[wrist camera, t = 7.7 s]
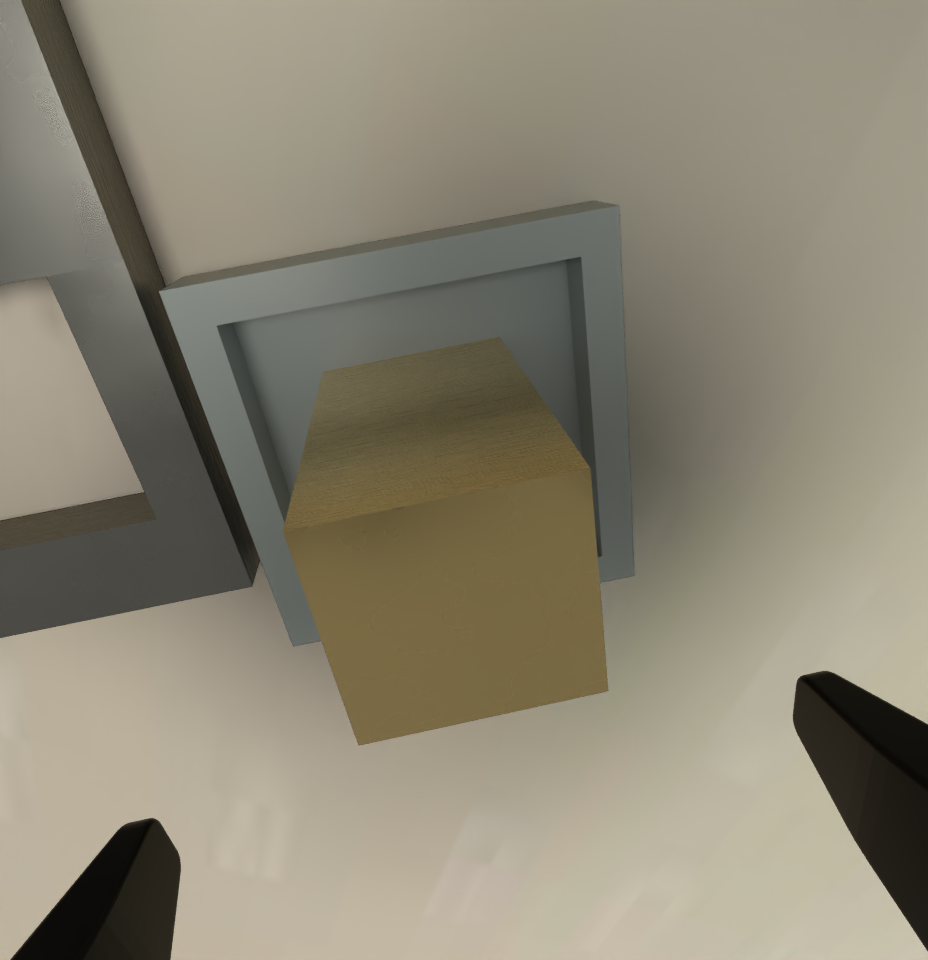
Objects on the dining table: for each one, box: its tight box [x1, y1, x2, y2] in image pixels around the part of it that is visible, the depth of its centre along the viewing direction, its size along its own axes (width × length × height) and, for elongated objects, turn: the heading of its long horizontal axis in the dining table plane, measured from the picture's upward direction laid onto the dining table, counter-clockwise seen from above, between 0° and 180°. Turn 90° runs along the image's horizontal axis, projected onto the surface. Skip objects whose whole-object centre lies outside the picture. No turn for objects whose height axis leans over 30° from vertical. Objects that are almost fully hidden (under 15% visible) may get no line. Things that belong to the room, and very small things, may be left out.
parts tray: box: [159, 201, 635, 647], centre depth 18 cm, size 11×11×2 cm
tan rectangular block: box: [283, 337, 608, 745], centre depth 15 cm, size 5×5×8 cm
